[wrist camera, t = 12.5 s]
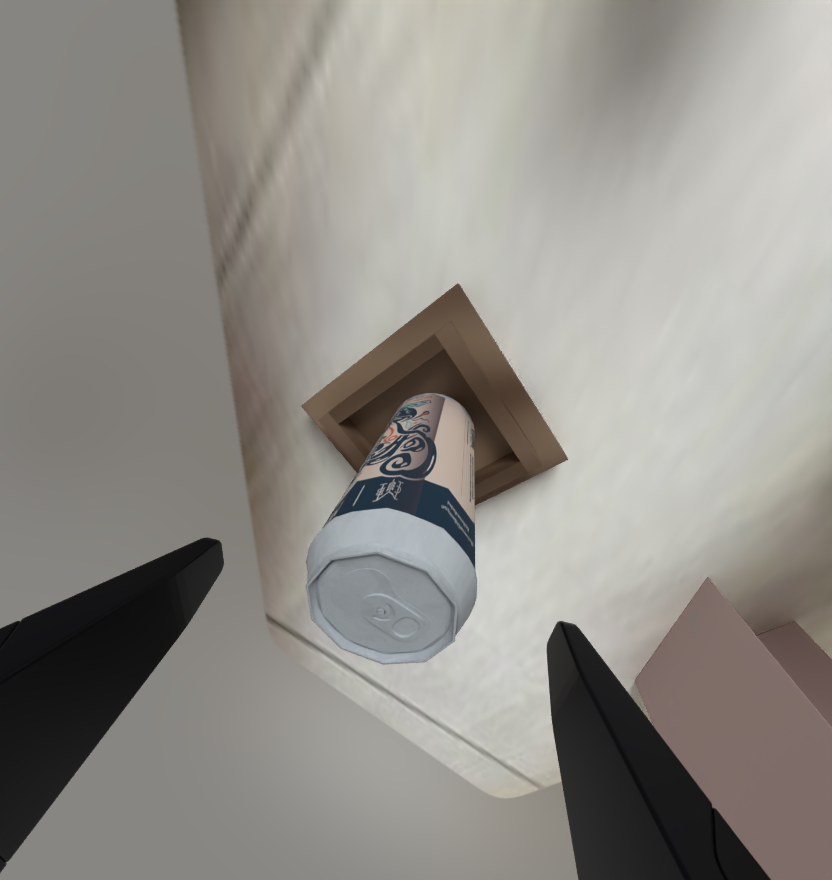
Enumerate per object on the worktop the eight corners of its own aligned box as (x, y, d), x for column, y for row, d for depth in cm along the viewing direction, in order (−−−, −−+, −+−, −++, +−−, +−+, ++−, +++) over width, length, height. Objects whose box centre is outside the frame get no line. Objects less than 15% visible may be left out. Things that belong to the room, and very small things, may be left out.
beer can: (424, 372, 18) (350, 497, 7) (493, 426, 19) (521, 616, 8) (375, 435, 20) (259, 610, 9) (439, 482, 21) (402, 697, 10)
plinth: (561, 448, 20) (575, 472, 17) (414, 522, 24) (407, 552, 21) (459, 283, 17) (456, 282, 15) (311, 398, 21) (288, 414, 19)
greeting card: (641, 686, 27) (810, 1084, 14) (583, 633, 26) (705, 1015, 12) (801, 629, 23) (1294, 1136, 9) (741, 561, 21) (1211, 1038, 8)
